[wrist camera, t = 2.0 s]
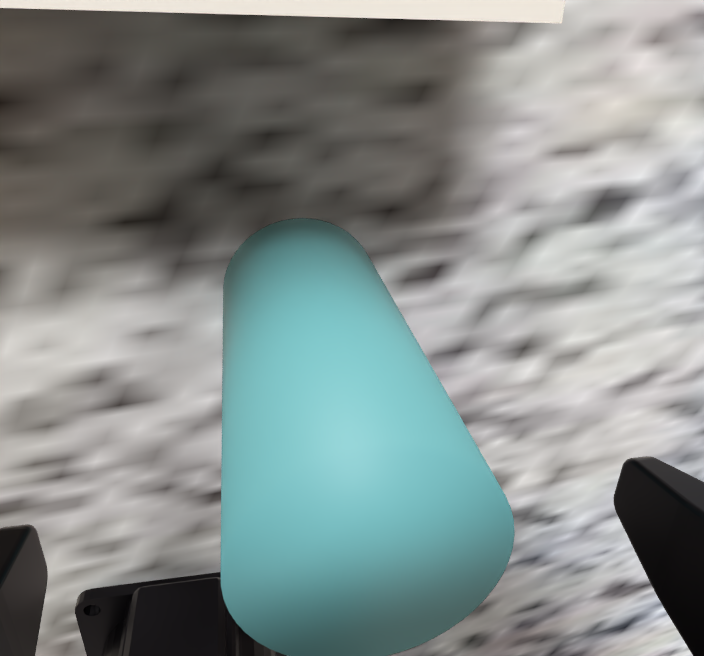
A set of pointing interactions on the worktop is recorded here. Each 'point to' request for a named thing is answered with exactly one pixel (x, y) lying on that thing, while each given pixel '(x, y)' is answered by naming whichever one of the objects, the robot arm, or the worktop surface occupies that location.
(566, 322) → the worktop surface
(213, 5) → the peg box
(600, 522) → the worktop surface
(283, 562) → the peg
